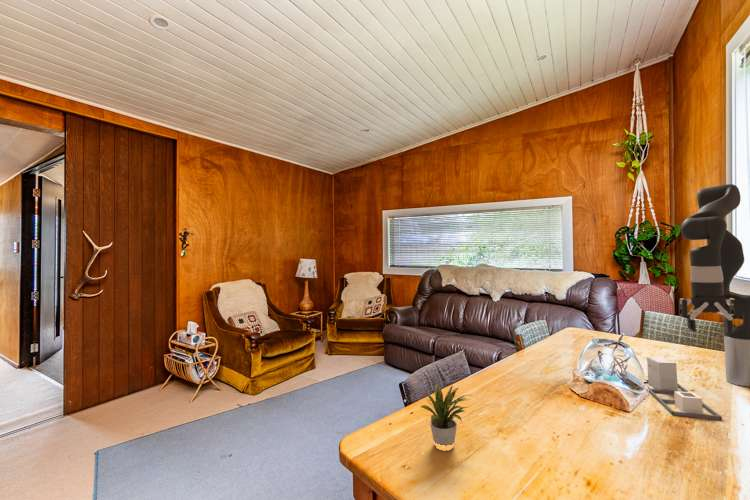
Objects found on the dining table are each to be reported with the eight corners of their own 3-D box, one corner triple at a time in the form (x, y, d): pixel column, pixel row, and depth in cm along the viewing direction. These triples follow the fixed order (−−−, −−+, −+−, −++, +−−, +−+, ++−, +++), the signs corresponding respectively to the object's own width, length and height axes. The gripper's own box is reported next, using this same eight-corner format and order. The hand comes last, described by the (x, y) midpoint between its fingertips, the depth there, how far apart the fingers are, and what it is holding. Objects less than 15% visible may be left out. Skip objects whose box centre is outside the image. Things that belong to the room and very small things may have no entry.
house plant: (461, 470, 83) (458, 401, 84) (409, 455, 91) (407, 391, 91) (478, 443, 95) (475, 382, 96) (430, 431, 103) (428, 375, 103)
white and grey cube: (675, 406, 114) (674, 390, 114) (694, 408, 113) (693, 392, 113) (682, 413, 110) (682, 396, 110) (702, 414, 108) (701, 398, 108)
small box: (678, 392, 125) (676, 363, 125) (660, 392, 126) (659, 362, 126) (664, 384, 133) (663, 356, 133) (647, 384, 134) (646, 356, 134)
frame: (637, 381, 137) (637, 379, 137) (676, 384, 132) (675, 382, 132) (672, 414, 108) (671, 411, 108) (721, 420, 104) (721, 416, 104)
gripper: (728, 278, 112) (732, 329, 112) (673, 279, 117) (676, 328, 117) (743, 280, 105) (746, 335, 105) (683, 281, 110) (687, 333, 110)
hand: (709, 331), depth 111 cm, fingers open, 8 cm apart
